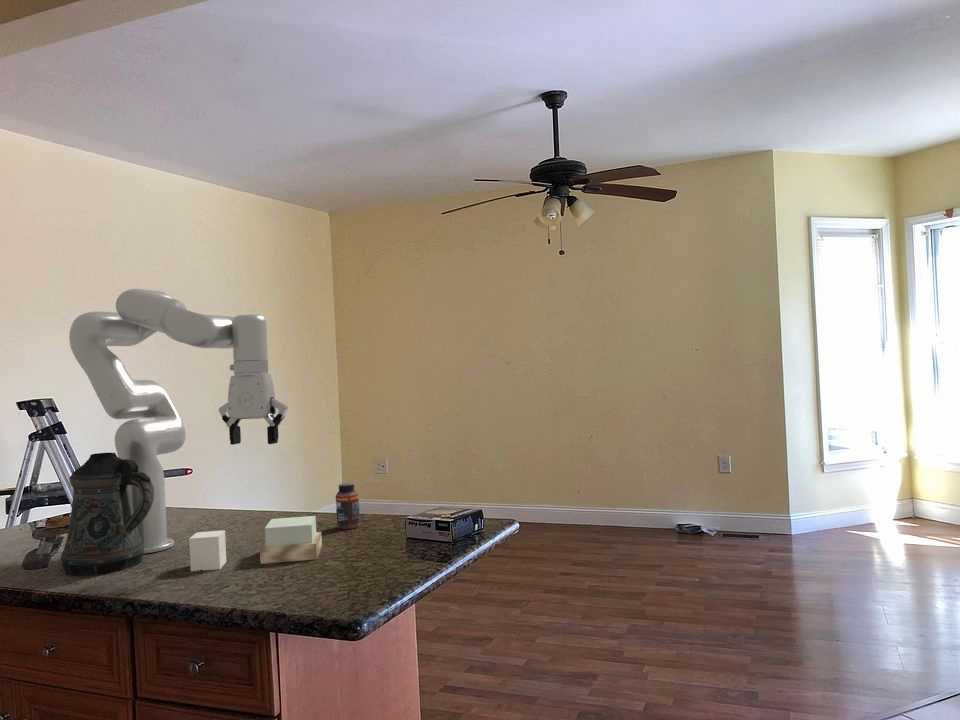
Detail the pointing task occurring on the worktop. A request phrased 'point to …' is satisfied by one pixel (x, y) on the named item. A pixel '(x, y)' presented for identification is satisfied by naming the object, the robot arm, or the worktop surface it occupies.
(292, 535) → the top block
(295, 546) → the bottom block
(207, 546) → the pillar block
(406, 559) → the worktop surface
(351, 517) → the supplement bottle
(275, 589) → the worktop surface
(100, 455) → the beer stein
